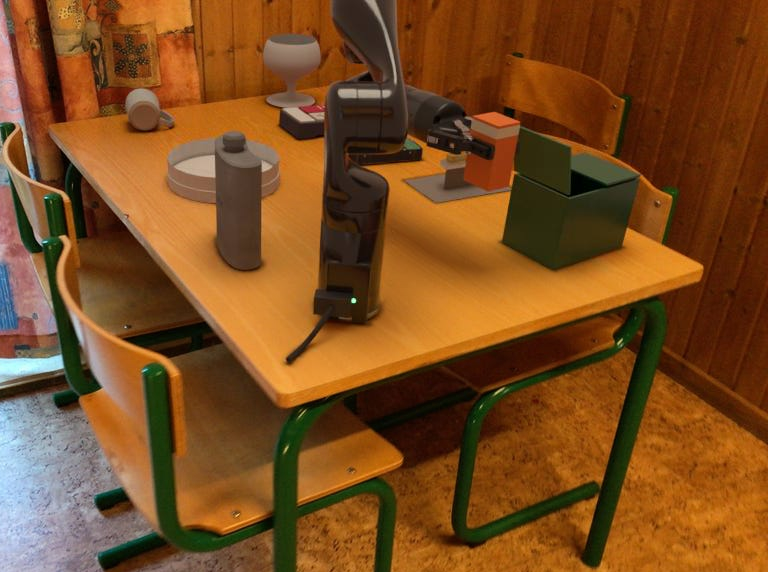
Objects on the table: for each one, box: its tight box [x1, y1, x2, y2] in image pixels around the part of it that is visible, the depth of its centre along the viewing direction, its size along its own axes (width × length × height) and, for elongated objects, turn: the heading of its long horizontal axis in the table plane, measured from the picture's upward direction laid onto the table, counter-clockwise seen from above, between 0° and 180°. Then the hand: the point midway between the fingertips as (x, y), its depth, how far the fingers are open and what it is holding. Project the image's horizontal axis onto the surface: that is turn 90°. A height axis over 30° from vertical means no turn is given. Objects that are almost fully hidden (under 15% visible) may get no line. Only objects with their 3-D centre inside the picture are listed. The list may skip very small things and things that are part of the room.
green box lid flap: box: [513, 125, 573, 195], centre depth 132 cm, size 8×12×1 cm
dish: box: [166, 137, 281, 204], centre depth 165 cm, size 22×22×5 cm
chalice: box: [262, 33, 322, 108], centre depth 206 cm, size 14×14×15 cm
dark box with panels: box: [278, 104, 325, 140], centre depth 193 cm, size 11×4×15 cm
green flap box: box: [501, 152, 642, 271], centre depth 142 cm, size 17×12×13 cm
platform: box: [403, 151, 512, 204], centre depth 166 cm, size 12×18×7 cm, turn 114°
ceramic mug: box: [124, 87, 175, 132], centre depth 190 cm, size 11×8×8 cm
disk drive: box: [348, 136, 424, 165], centre depth 180 cm, size 10×3×15 cm
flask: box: [215, 130, 263, 271], centre depth 136 cm, size 15×6×20 cm, turn 15°
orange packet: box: [463, 111, 521, 192], centre depth 127 cm, size 4×6×10 cm
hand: (505, 150), depth 124 cm, fingers closed on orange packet, 4 cm apart
